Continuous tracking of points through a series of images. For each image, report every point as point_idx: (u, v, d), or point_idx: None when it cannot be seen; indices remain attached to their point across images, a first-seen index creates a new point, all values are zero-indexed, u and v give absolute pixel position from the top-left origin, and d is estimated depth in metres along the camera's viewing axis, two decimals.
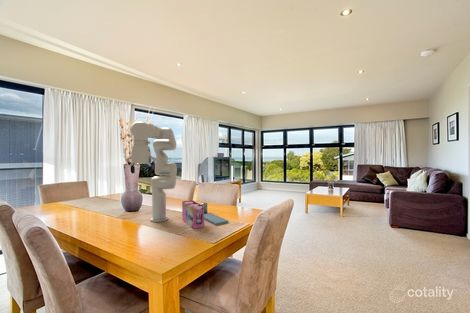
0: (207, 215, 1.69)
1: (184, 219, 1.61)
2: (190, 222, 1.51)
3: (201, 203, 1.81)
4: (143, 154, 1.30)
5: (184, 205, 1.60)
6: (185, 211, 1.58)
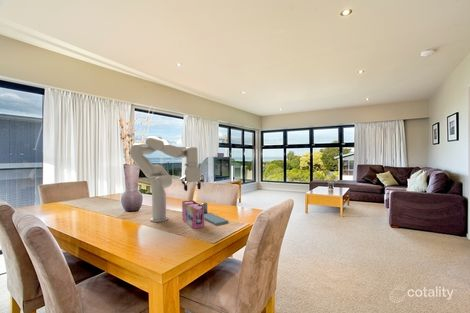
0: (207, 215, 1.69)
1: (184, 219, 1.61)
2: (190, 222, 1.51)
3: (201, 203, 1.81)
4: None
5: (184, 205, 1.61)
6: (185, 211, 1.58)
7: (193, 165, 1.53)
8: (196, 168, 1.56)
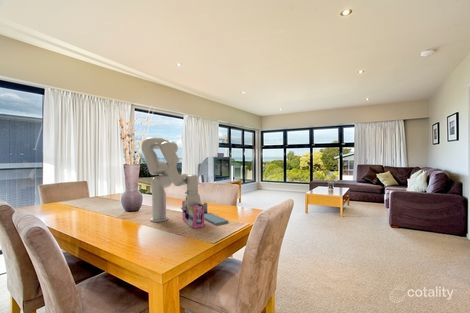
0: (207, 215, 1.69)
1: (184, 219, 1.61)
2: (190, 222, 1.51)
3: None
4: None
5: (184, 204, 1.61)
6: None
7: (193, 193, 1.54)
8: (196, 196, 1.56)
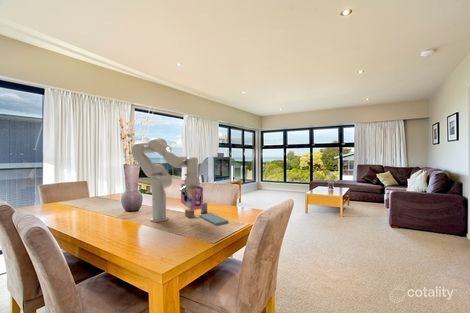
0: (207, 215, 1.69)
1: (183, 201, 1.61)
2: (189, 204, 1.51)
3: None
4: None
5: None
6: None
7: (193, 176, 1.54)
8: (196, 178, 1.56)
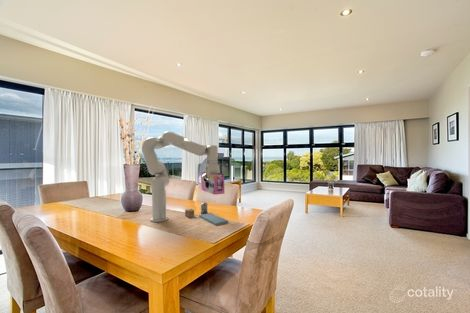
0: (207, 215, 1.69)
1: (204, 188, 1.68)
2: (211, 189, 1.58)
3: (201, 203, 1.81)
4: None
5: None
6: None
7: (214, 162, 1.60)
8: (216, 165, 1.63)
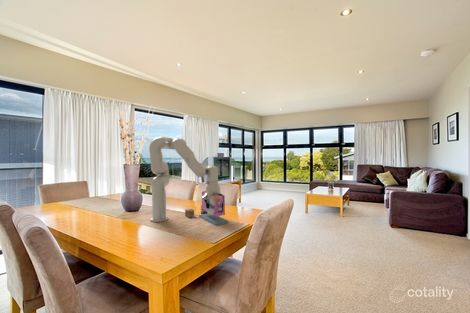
0: (207, 215, 1.69)
1: (204, 208, 1.68)
2: (211, 211, 1.58)
3: (201, 203, 1.81)
4: None
5: (204, 194, 1.68)
6: None
7: (214, 183, 1.61)
8: (217, 186, 1.63)
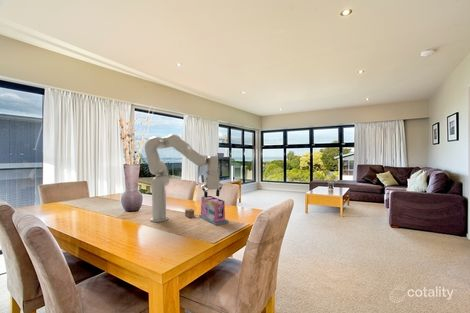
0: None
1: (204, 214, 1.68)
2: (211, 216, 1.58)
3: (201, 203, 1.81)
4: None
5: (204, 200, 1.68)
6: (205, 206, 1.66)
7: (214, 173, 1.61)
8: (216, 176, 1.63)
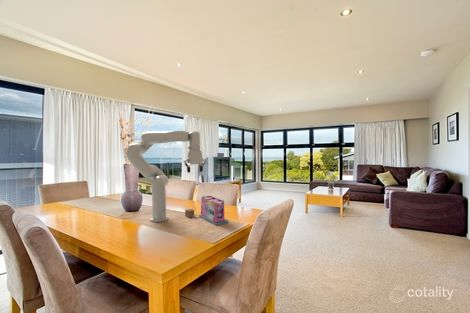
0: None
1: (204, 214, 1.69)
2: (211, 216, 1.58)
3: (201, 203, 1.81)
4: None
5: (204, 200, 1.68)
6: (205, 206, 1.66)
7: (196, 148, 1.63)
8: (198, 151, 1.65)
